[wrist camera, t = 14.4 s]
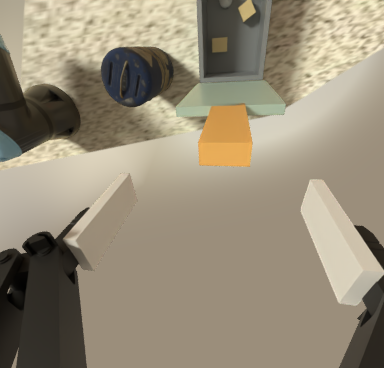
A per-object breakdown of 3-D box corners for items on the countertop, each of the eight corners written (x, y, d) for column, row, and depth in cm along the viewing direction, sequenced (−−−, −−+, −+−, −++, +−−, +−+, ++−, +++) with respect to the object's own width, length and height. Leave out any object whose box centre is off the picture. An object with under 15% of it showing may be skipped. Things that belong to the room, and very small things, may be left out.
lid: (197, 83, 39) (197, 94, 41) (143, 142, 16) (147, 163, 17) (265, 80, 37) (263, 91, 38) (320, 143, 13) (312, 168, 15)
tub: (205, 77, 47) (199, 82, 39) (202, -33, 36) (194, -52, 29) (257, 74, 44) (262, 79, 37) (270, -43, 34) (280, -67, 27)
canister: (182, 65, 46) (158, 74, 31) (162, 99, 51) (134, 120, 37) (147, 36, 44) (105, 31, 29) (130, 75, 49) (88, 87, 35)
